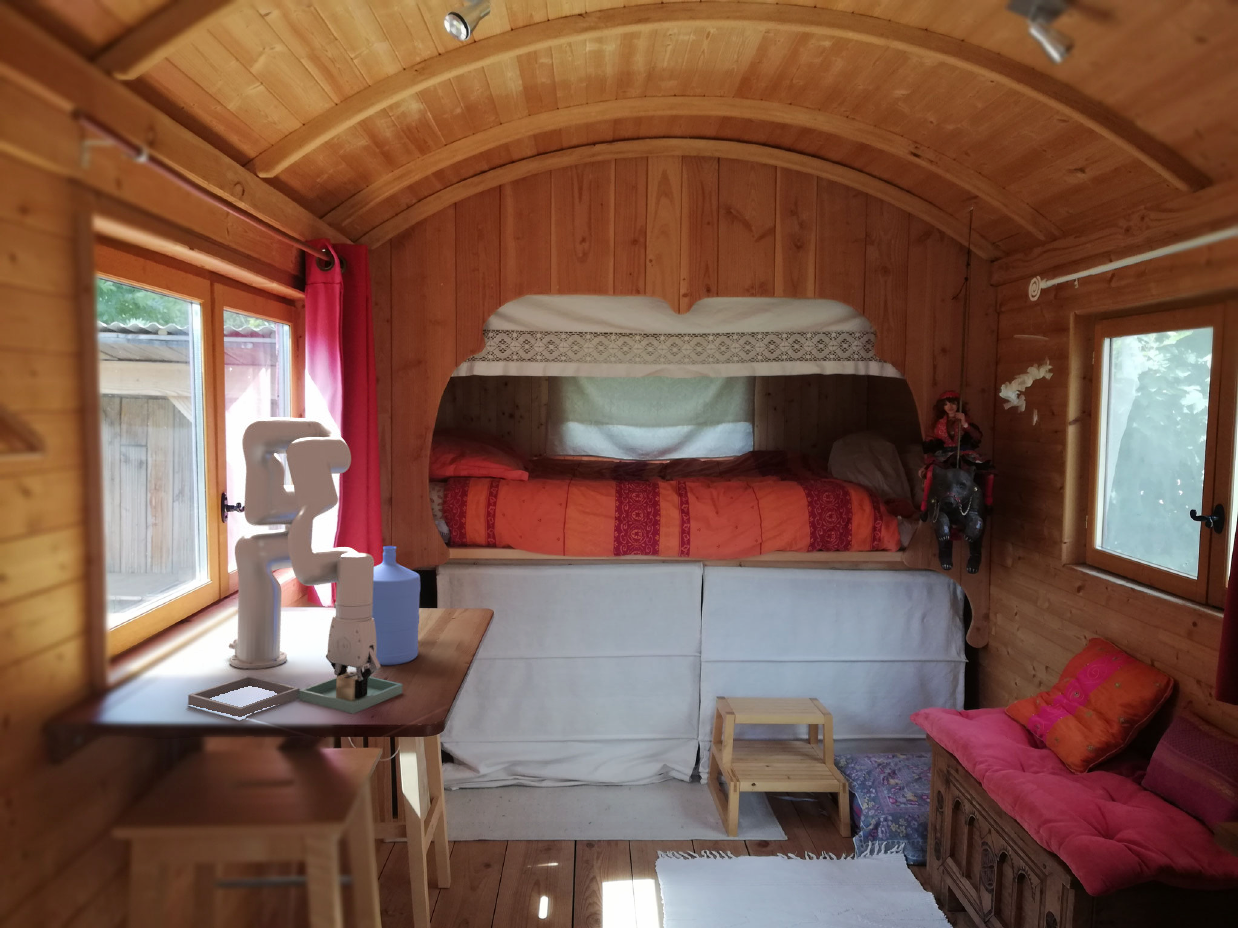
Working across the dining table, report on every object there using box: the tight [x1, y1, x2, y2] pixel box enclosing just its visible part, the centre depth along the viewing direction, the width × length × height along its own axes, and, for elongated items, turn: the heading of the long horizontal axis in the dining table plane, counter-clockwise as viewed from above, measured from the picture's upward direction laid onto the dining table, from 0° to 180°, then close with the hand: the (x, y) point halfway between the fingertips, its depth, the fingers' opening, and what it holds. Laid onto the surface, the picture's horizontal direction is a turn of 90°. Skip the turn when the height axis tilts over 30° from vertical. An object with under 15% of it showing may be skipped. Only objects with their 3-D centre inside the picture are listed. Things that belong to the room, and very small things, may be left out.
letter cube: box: [336, 670, 364, 701], centre depth 180 cm, size 4×4×5 cm
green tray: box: [298, 676, 403, 715], centre depth 180 cm, size 15×15×2 cm
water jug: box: [369, 545, 421, 666], centre depth 209 cm, size 16×16×28 cm
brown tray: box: [187, 675, 300, 717], centre depth 174 cm, size 15×15×2 cm
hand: (351, 693), depth 180 cm, fingers closed on letter cube, 4 cm apart
